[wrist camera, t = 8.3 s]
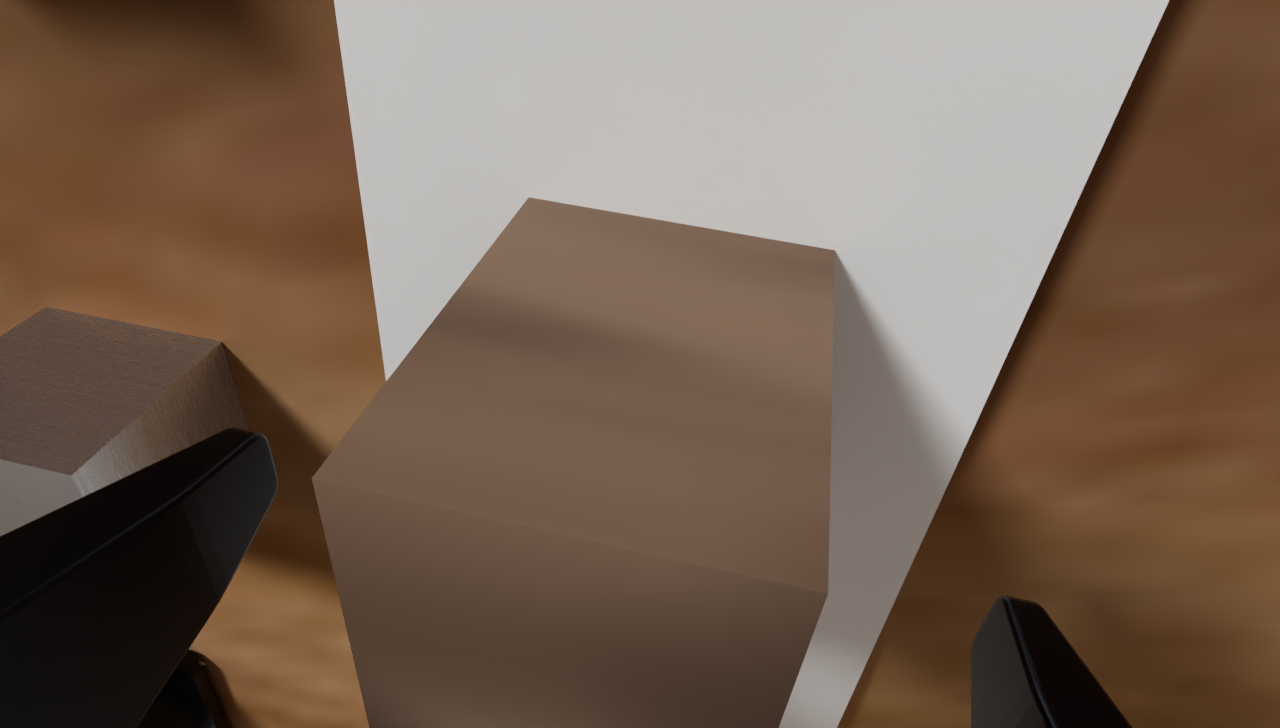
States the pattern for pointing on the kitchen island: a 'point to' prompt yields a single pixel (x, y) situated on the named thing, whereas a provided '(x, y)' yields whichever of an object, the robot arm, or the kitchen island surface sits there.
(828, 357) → the walnut block
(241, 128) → the kitchen island surface
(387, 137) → the cream tile
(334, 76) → the kitchen island surface
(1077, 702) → the robot arm
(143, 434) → the grey metal block
